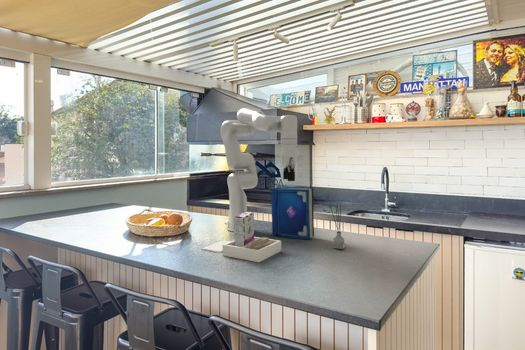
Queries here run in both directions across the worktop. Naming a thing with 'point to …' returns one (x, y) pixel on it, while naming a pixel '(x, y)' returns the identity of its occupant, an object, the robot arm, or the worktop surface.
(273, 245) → the box
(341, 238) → the reed diffuser
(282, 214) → the book
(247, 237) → the candy bar box
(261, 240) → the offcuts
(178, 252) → the worktop surface
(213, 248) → the mat
